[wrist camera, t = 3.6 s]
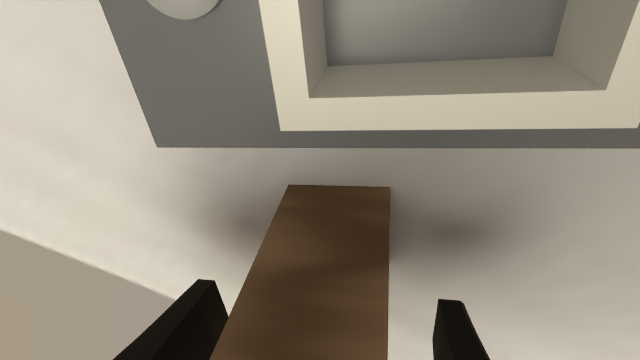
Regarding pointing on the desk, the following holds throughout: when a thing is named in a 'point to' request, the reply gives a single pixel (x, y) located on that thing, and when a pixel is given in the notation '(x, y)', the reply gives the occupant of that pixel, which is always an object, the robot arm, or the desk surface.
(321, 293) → the walnut peg
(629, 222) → the desk surface
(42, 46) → the desk surface
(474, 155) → the desk surface
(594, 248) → the desk surface
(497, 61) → the socket board
